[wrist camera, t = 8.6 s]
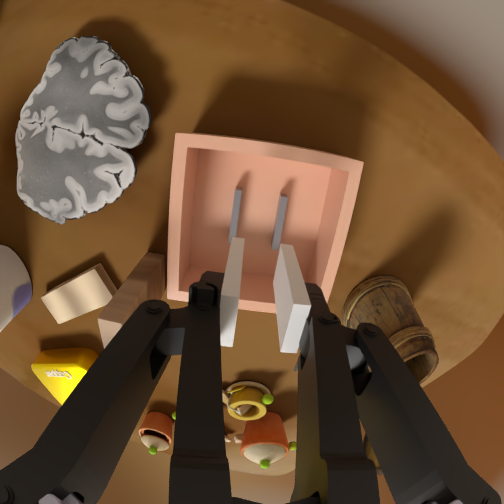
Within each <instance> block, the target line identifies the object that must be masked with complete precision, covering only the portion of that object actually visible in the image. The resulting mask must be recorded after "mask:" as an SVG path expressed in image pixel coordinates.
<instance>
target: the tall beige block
mask: <svg viewBox="0 0 504 504" xmlns="http://www.w3.org/2000/svg"><path fill="white" fill-rule="evenodd" d="M164 291H165V255H164V254H157V253H150V252H147V253H146V254H145V256H144V257H143V258H142V259H141V261H140V262H139V263H138V264H137V266H136V267H135V268H134V270H133V271H132V272H131V273H130V275H129V276H128V277H127V279H126V280H125V281H124V283H123V284H122V285H121V287H120V288H119V289H118V291H117V292H116V293H115V295H114V296H113V297H112V299H111V300H110V302H109V303H108V304H107V306H106V307H105V309H104V310H103V311H102V313H101V314H100V316H99V317H98V323H99V328H100V332H101V337H102V341H103V346H104V349H105V347H106V346H107V345H108V343H109V342H110V341H111V340H112V338H113V337H114V336H115V335H116V333H117V332H118V331H119V330H120V328H121V327H122V326H123V325H124V323H125V322H126V321H127V320H128V318H129V317H130V316H131V315H132V314H133V312H134V311H135V310H136V309H137V308H138V306H139V305H140V304H141V303H143V302H144V301H147V300H152V299H156V300H160V299H161V297H162V295H163V293H164Z"/></svg>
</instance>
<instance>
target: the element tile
mask: <svg viewBox="0 0 504 504" xmlns="http://www.w3.org/2000/svg"><path fill="white" fill-rule="evenodd" d="M98 356H99V355H98V354H97V353H96V352H95V351H94V350H92V349H90V348H87V347H78V348H66V349H52V350H42V351H41V352H40V354H39V355H38V357H37V358H36V359H35V361H34V362H33V364H32V365H31V367H32V370H33V372H34V373H35V374H36V376H37V377H38V378H39V379H40V381H41V382H42V383H43V384H44V386H45V387H46V388H47V389H48V390H49V391H50V393H51V394H52V395H53V396H54V397H55V398H56V399H57V401H58V402H59V403H60V404H61V405H63V403H64V402H65V401H66V399H67V398H68V396H69V395H70V394H71V392H72V391H73V390H74V388H75V387H76V385H77V384H78V383H79V381H80V380H81V379H82V377H83V376H84V375H85V373H86V372H87V371H88V369H89V368H90V367H91V365H92V364H93V363H94V362H95V360H96V359H97V358H98Z"/></svg>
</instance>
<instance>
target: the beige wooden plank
mask: <svg viewBox="0 0 504 504" xmlns="http://www.w3.org/2000/svg"><path fill="white" fill-rule="evenodd" d="M117 291H118V290H117V288H116V287H115V285H114V284H113V282H112V281H111V279H110V277H109V276H108V274H107V273H106V271H105V269H104V268H103V266H102V264H101V263H99V264H97V265H95V266H93V267H92V268H90V269H88V270H86V271H84V272H82V273H80V274H78V275H77V276H75V277H73V278H71V279H69V280H67V281H66V282H64V283H62V284H60V285H58V286H57V287H55V288H53V289H51V290H49V291H48V292H46V293H45V294H44V295H43V296H42V297H41V299H42V300H43V302H44V303H45V305H46V306H47V308H48V309H49V311H50V312H51V314H52V315H53V317H54V318H55V319H56V321H57V322H58V324H60V323H63V322H65V321H68V320H70V319H73V318H75V317H77V316H80V315H82V314H85V313H87V312H90V311H92V310H95V309H97V308H100V307H102V306H105V305H107V304H108V303H109V302H110V300H111V299H112V297H113V296H114V295H115V293H116V292H117Z"/></svg>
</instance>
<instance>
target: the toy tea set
mask: <svg viewBox="0 0 504 504" xmlns="http://www.w3.org/2000/svg"><path fill="white" fill-rule="evenodd" d="M222 395H223V402H224V403H225V404H226V405H227V406H228V412H229V414H230V415H231V416H233V417H234V418H237V419H240V420H247V422H246V426H245V430H244V433H243V434H238V435H235V436H234V439H235V442H236V443H242V444H241V448H240V451H241V453H242V455H243V456H245V457H246V458H248V459H249V460H251V461H253V462H255V463H259V464H260V466H261V467H262V468H264V469H265V468H268V467H269V466H270V463H273V462H275V461H277V460H279V459H280V458H282V457H283V456H285V455H286V454H287V453H288V451H289V449H291V450H295V449H296V446H297V443H296V442H290V443H288V441H287V437H286V434H285V430H284V426H283V422H282V419H281V417H280V416H279V415H278V414H276V413H273V412H266V411H267V409H266V404H271V403H272V402H273V400H274V398H273V396H272V395H271V394H270V391H269V389H268V388H267V387H265V386H264V385H262V384H260V383H256V382H250V381H244V382H238V383H235V384H232V385H231V386H229V387H228V388H227V389H226V391H224V390H222ZM172 417H173V419H175V418H176V411H175V412H173V414H172ZM139 434H140V436H141V440H142V442H143V443H144V444H145V445H146V446H147V447H149V452H150V453H151V454H156V453H157V451H162V450H166V449H168V448H169V444H170V443H171V442H172V420H171V418H170V417H169V416H167V415H165V414H163V413H160V412H149V413H148V414H147V416H146V418H145V420H144V422H143V423H142V425H141V427H140V429H139ZM225 441H226V442H231V438H230V437H228V436H226V435H225Z"/></svg>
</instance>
